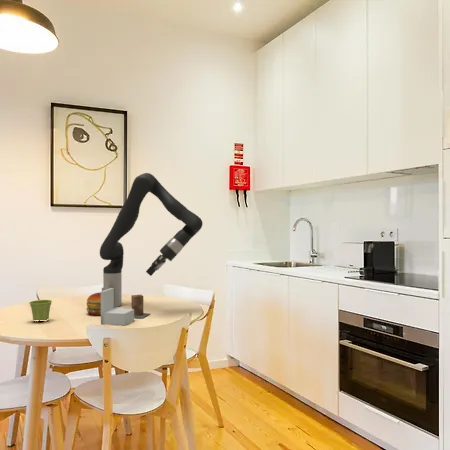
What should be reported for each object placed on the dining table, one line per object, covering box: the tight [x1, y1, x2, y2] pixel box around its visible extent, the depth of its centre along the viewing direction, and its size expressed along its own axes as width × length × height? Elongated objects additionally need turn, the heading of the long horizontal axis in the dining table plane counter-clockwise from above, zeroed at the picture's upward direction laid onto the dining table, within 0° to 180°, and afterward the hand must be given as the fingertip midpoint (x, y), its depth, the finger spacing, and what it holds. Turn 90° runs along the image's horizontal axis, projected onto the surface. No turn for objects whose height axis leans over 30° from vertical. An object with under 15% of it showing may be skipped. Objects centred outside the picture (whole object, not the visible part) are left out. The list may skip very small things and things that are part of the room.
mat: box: [134, 312, 151, 319], centre depth 208 cm, size 9×9×1 cm
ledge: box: [100, 288, 135, 326], centre depth 196 cm, size 11×10×14 cm
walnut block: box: [130, 294, 144, 316], centre depth 208 cm, size 4×4×9 cm
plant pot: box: [28, 299, 53, 321], centre depth 197 cm, size 9×9×9 cm
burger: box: [86, 292, 116, 316], centre depth 214 cm, size 13×14×10 cm
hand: (148, 273), depth 212 cm, fingers open, 8 cm apart
